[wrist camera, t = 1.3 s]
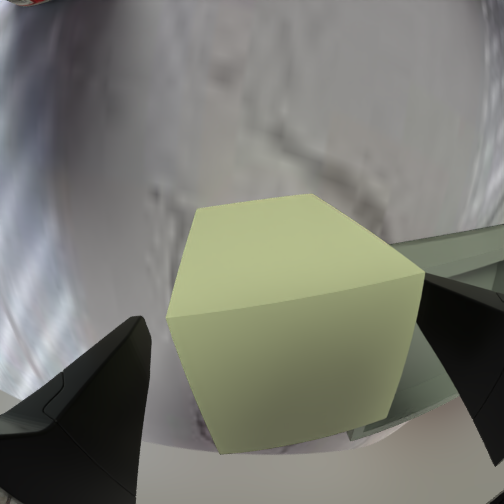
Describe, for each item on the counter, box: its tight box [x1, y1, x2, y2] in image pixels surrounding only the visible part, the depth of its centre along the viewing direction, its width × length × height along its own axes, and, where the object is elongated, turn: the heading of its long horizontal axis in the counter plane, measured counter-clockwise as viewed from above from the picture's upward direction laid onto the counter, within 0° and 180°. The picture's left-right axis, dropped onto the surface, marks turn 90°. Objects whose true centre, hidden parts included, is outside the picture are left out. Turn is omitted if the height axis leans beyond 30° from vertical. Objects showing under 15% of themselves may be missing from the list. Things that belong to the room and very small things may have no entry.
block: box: [166, 194, 425, 455], centre depth 10 cm, size 5×5×8 cm
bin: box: [347, 224, 504, 441], centre depth 15 cm, size 13×13×3 cm
